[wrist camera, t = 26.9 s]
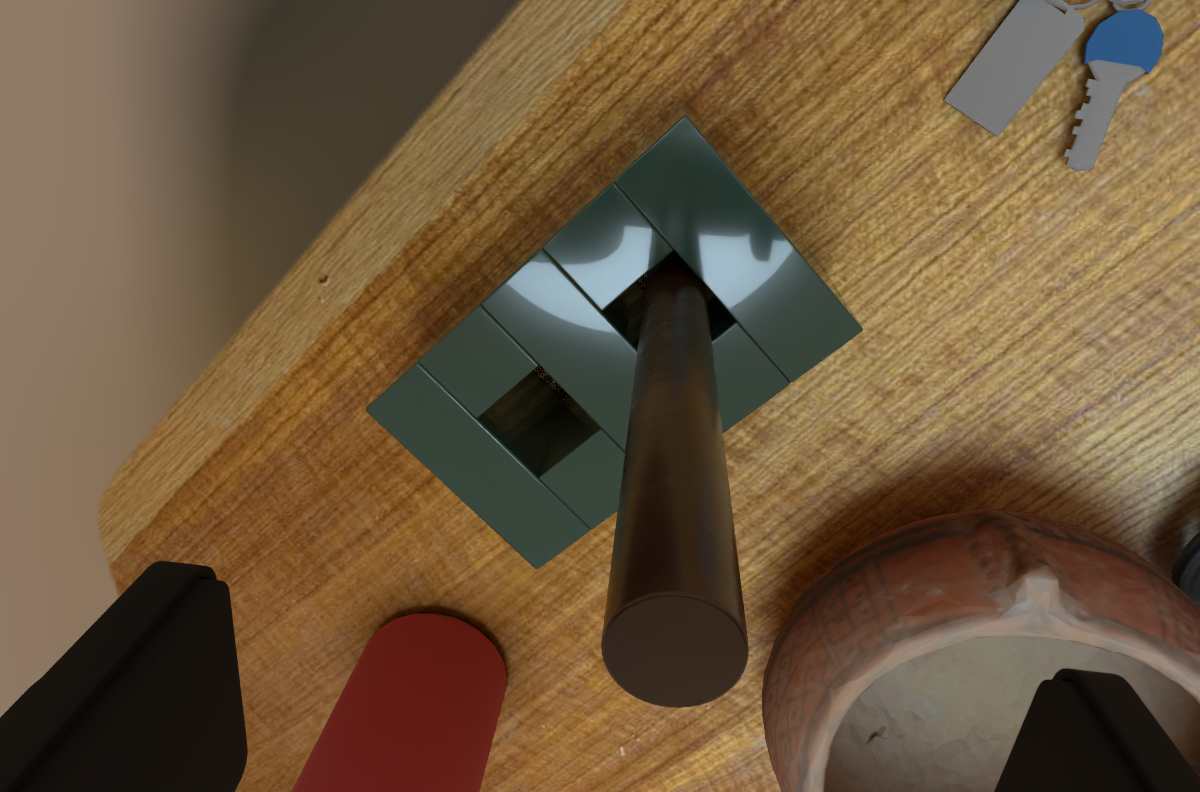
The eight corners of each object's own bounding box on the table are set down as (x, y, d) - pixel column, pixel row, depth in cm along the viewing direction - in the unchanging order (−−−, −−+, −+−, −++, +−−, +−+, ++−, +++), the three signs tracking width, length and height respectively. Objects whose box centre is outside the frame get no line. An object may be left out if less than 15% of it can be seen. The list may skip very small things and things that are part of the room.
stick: (645, 276, 28) (591, 695, 10) (654, 225, 28) (613, 581, 9) (695, 284, 28) (732, 720, 10) (705, 234, 28) (764, 608, 9)
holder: (560, 480, 32) (536, 571, 27) (420, 343, 30) (363, 410, 25) (827, 273, 28) (864, 330, 22) (683, 98, 26) (685, 113, 20)
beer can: (365, 595, 35) (226, 844, 24) (513, 615, 35) (440, 875, 24) (369, 708, 38) (246, 977, 27) (506, 726, 38) (438, 1006, 27)
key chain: (1367, -239, 21) (1393, -250, 20) (1362, 80, 24) (1385, 81, 23) (833, -37, 24) (838, -40, 23) (887, 225, 27) (894, 230, 26)
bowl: (994, 380, 29) (1141, 538, 20) (1226, 640, 32) (1442, 874, 23) (676, 614, 34) (676, 822, 25) (905, 814, 38) (978, 1060, 29)
